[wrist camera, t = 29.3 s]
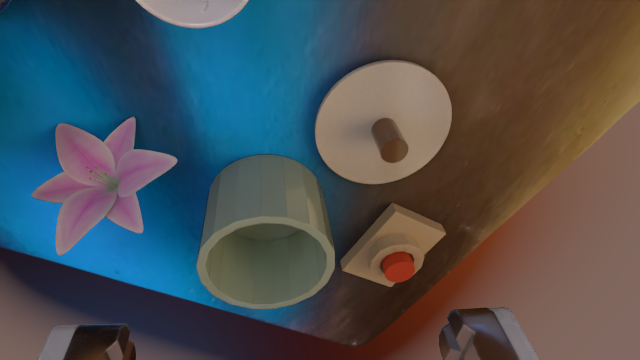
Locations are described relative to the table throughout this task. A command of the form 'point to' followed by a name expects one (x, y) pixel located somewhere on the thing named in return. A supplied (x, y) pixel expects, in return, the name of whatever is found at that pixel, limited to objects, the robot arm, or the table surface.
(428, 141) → the jar lid
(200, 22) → the white cup
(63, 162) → the lily
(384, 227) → the button block
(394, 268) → the button
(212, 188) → the storage jar
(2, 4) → the beverage bottle
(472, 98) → the table surface
